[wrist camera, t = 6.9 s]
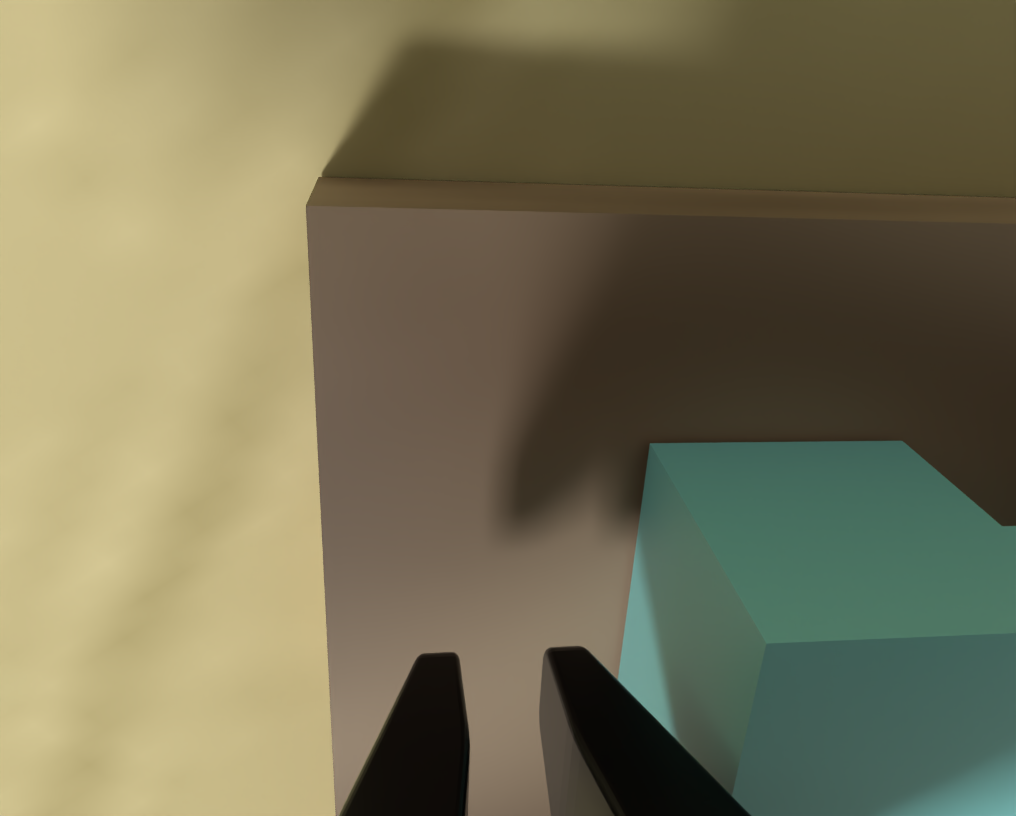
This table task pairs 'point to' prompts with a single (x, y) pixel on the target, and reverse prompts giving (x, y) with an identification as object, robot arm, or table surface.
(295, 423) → the table surface
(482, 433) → the board
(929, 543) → the block
